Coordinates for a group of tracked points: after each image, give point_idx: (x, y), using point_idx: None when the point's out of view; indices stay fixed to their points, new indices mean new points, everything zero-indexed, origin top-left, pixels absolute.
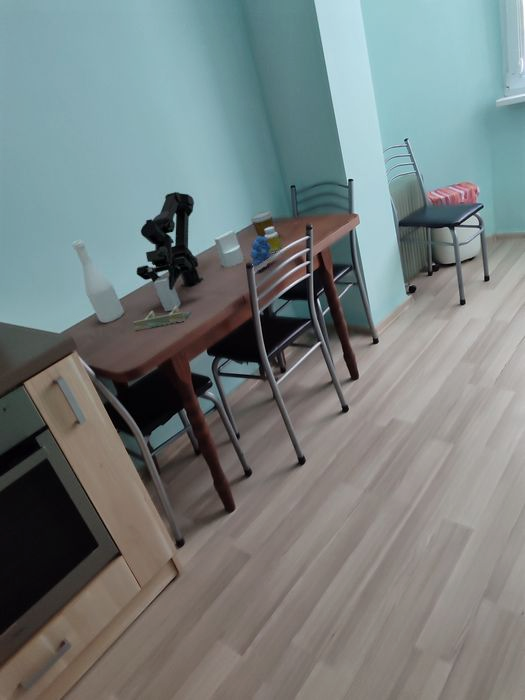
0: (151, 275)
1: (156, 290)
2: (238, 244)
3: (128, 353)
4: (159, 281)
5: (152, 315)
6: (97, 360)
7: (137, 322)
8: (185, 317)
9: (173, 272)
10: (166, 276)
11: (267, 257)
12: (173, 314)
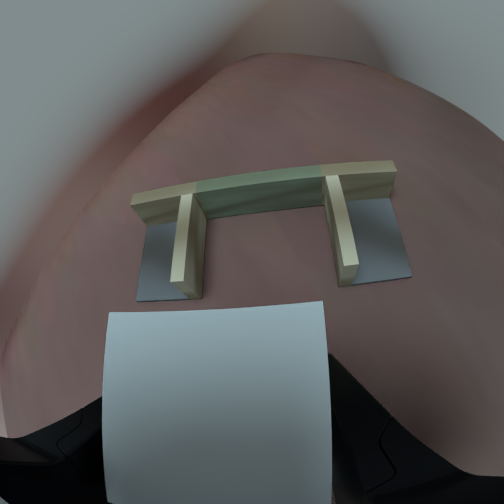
0: (456, 500)
1: (336, 359)
2: None
3: (297, 84)
4: (205, 322)
5: (337, 247)
6: (382, 77)
7: (368, 163)
8: (150, 243)
9: (13, 439)
10: (148, 500)
11: None
12: (169, 189)
